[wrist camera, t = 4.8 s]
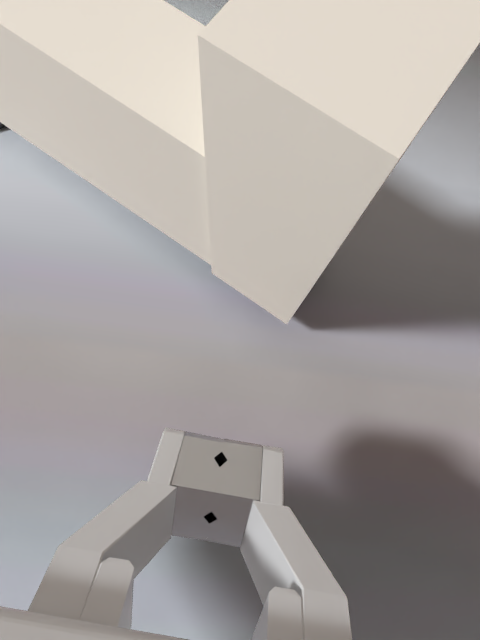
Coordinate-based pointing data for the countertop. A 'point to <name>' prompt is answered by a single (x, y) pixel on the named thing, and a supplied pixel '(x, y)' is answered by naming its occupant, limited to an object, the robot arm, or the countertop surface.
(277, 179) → the cream l-shaped block
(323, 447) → the countertop surface
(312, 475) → the countertop surface
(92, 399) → the countertop surface
